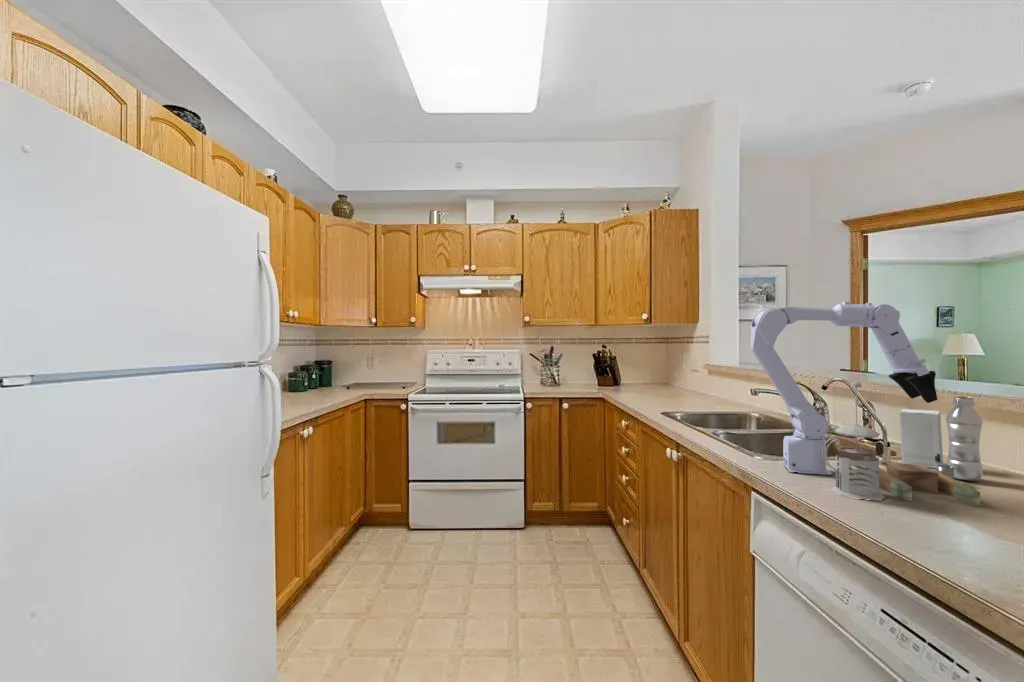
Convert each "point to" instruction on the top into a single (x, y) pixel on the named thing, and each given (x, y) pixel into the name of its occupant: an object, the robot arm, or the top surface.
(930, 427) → the skincare box
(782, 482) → the top surface
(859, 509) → the top surface
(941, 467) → the crank handle cylinder
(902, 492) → the bay
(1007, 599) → the top surface
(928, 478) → the box
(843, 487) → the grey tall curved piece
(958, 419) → the silver metal bottle
